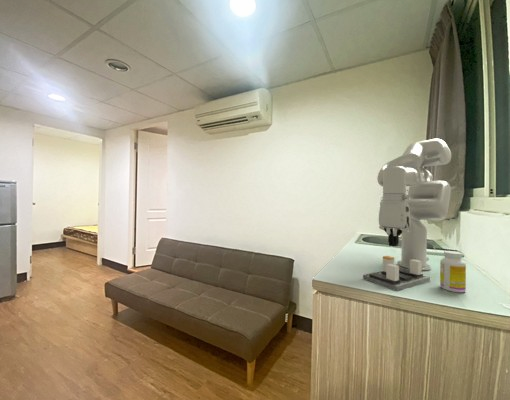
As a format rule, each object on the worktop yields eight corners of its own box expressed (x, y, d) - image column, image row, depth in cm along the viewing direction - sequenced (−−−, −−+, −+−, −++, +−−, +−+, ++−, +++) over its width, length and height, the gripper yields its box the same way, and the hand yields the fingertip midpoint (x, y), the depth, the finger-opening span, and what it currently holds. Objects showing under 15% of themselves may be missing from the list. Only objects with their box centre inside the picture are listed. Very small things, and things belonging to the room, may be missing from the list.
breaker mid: (386, 270, 91) (386, 255, 91) (394, 272, 88) (394, 257, 88) (382, 270, 90) (382, 256, 90) (390, 273, 87) (390, 258, 87)
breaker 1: (390, 277, 82) (390, 263, 82) (398, 280, 79) (399, 265, 79) (386, 278, 81) (386, 264, 81) (394, 281, 78) (395, 266, 78)
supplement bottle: (470, 292, 76) (471, 254, 76) (456, 294, 74) (457, 255, 74) (448, 284, 82) (449, 249, 82) (435, 286, 80) (435, 250, 80)
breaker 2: (412, 271, 89) (413, 259, 89) (421, 274, 86) (421, 261, 86) (409, 272, 88) (409, 259, 88) (418, 275, 85) (418, 261, 85)
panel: (394, 271, 97) (395, 266, 97) (429, 281, 85) (429, 275, 85) (362, 278, 87) (363, 272, 87) (397, 291, 76) (397, 284, 76)
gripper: (420, 198, 83) (419, 248, 83) (380, 198, 96) (380, 241, 96) (409, 198, 79) (409, 250, 79) (369, 198, 92) (369, 243, 92)
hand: (393, 245), depth 87 cm, fingers closed
